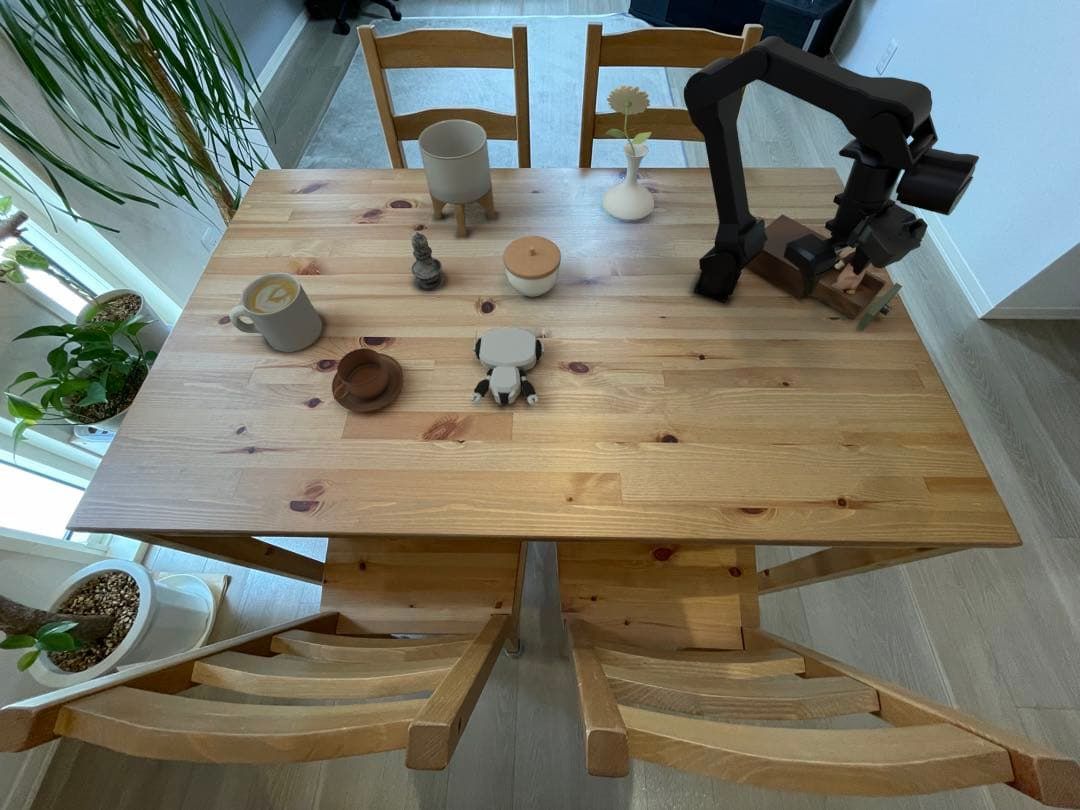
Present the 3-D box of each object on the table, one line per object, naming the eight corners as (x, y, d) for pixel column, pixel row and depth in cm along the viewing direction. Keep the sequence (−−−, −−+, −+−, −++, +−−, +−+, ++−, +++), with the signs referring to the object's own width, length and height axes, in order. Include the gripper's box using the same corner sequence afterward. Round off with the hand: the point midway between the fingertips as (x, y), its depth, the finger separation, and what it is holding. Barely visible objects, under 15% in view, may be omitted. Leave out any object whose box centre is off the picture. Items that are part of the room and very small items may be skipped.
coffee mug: (325, 309, 98) (304, 270, 90) (318, 349, 93) (295, 312, 85) (255, 314, 98) (227, 275, 89) (243, 355, 93) (212, 318, 84)
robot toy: (541, 413, 86) (544, 339, 93) (541, 400, 82) (544, 324, 89) (469, 411, 87) (478, 338, 93) (465, 398, 82) (474, 323, 89)
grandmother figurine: (855, 279, 98) (893, 224, 87) (865, 293, 96) (905, 239, 85) (817, 284, 97) (850, 229, 86) (826, 298, 95) (861, 244, 84)
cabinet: (830, 269, 102) (844, 247, 97) (798, 299, 98) (811, 277, 93) (772, 236, 107) (782, 214, 103) (739, 263, 103) (748, 241, 98)
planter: (493, 236, 109) (483, 157, 94) (432, 236, 109) (413, 158, 94) (496, 198, 116) (488, 119, 100) (439, 198, 116) (423, 119, 101)
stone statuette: (410, 287, 101) (394, 238, 91) (424, 267, 104) (410, 218, 94) (436, 295, 100) (423, 246, 90) (450, 275, 103) (439, 225, 93)
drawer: (896, 304, 96) (909, 289, 92) (868, 333, 92) (880, 319, 89) (830, 267, 101) (839, 252, 98) (801, 293, 97) (810, 278, 94)
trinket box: (530, 314, 97) (528, 277, 89) (494, 284, 101) (490, 246, 93) (571, 286, 100) (573, 249, 92) (535, 258, 105) (534, 220, 97)
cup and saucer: (384, 425, 84) (373, 405, 79) (322, 404, 87) (307, 384, 81) (418, 370, 90) (409, 348, 85) (359, 352, 93) (347, 329, 87)
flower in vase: (661, 203, 114) (687, 83, 92) (638, 232, 109) (659, 113, 87) (609, 184, 118) (622, 65, 96) (585, 212, 112) (593, 93, 91)
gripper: (857, 243, 63) (820, 335, 75) (975, 194, 66) (922, 290, 78) (794, 204, 70) (770, 293, 82) (903, 161, 73) (865, 254, 85)
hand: (832, 283), depth 82 cm, fingers open, 9 cm apart
